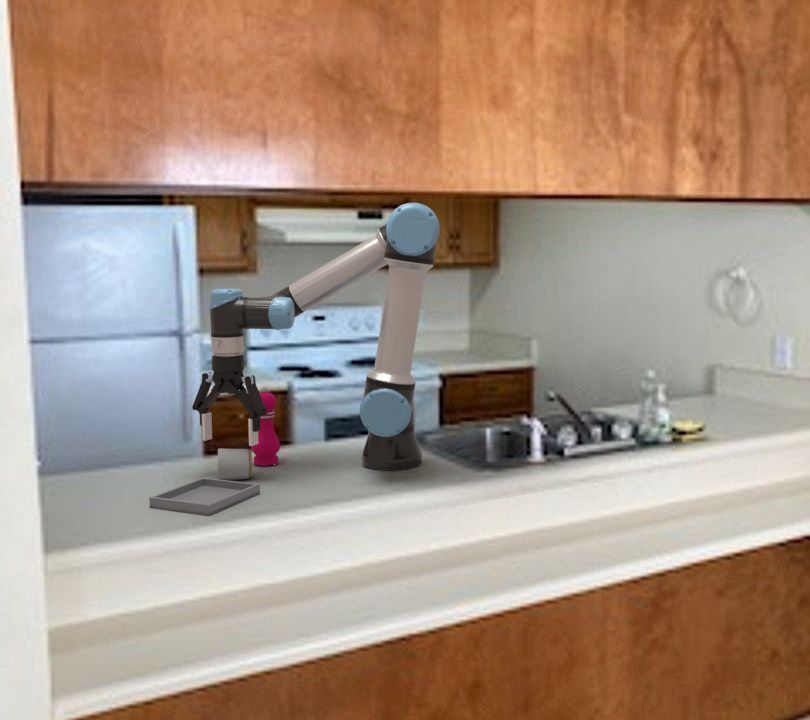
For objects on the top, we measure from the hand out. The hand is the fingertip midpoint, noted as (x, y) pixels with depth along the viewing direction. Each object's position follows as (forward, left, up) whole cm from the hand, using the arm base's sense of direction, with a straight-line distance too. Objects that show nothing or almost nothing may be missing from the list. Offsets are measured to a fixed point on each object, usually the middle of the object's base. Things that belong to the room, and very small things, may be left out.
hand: (230, 442), depth 219 cm
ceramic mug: (0, -1, -9) cm, 9 cm away
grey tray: (-6, +18, -9) cm, 21 cm away
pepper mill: (+1, -15, -9) cm, 18 cm away
